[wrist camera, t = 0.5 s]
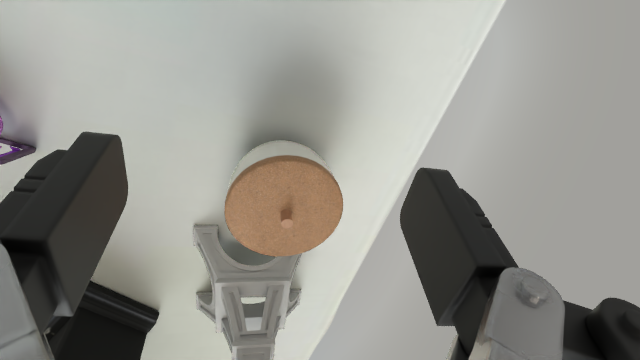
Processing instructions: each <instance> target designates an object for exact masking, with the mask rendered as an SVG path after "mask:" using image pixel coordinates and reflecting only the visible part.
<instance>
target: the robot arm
mask: <svg viewBox="0 0 640 360" xmlns="http://www.w3.org/2000/svg"><path fill="white" fill-rule="evenodd" d="M127 196H128V181H127V175H126V168H125V161H124V155H123V148H122V142H121V139H120V137H119V136H118V135H112V134H102V133H93V132H83V133H81V134H80V136H79V137H78V138H77V139H76V141H75V142H74V143H73V144H72V146H71V147H70V148H69V149H68V150H56V151H54V152H52V153H51V154H49V155H47V156H45V157H44V158H42V159H40V160H38V161H37V162H36V163H35V164H34V165H33V167H32V168H31V169H30V170H29V171H28V172H27V173H26V175H25V178H24V179H21V180H20V181H19V183H18V184H17V185H16V186H15V187H14V191H11V192H10V193H9V194H8V195H7V196H6V197H5V199H4V200H3V201H2V202H1V203H0V360H55V359H54V357H53V354H52V352H51V349H50V346H49V344H48V341H47V339H46V336H45V334H44V331H45V329H46V327H47V325H48V323H49V321H50V320H51V318H52V316H73V315H74V313H75V311H76V309H77V307H78V305H79V303H80V301H81V298H82V296H83V294H84V292H85V290H86V288H87V286H88V284H89V282H90V279H91V277H92V275H93V273H94V271H95V269H96V267H97V265H98V263H99V260H100V258H101V256H102V254H103V252H104V250H105V248H106V246H107V244H108V241H109V239H110V237H111V235H112V233H113V231H114V229H115V227H116V225H117V222H118V220H119V218H120V216H121V214H122V212H123V210H124V207H125V205H126V201H127ZM400 224H401V229H402V231H403V234H404V237H405V240H406V242H407V245H408V248H409V251H410V253H411V256H412V259H413V261H414V264H415V267H416V269H417V272H418V275H419V278H420V280H421V283H422V286H423V289H424V291H425V294H426V297H427V299H428V302H429V305H430V308H431V310H432V313H433V316H434V319H435V321H436V324H437V326H455V328H456V331H457V333H458V334H457V335H456V336H455V338H454V339H453V342H452V344H451V347H450V350H449V353H448V356H447V358H446V360H640V308H639V307H637V306H636V305H634V304H632V303H629V302H627V301H625V300H621V299H617V298H607V299H605V300H603V301H602V302H601V303H600V304H599V305H598V306H597V307H596V308H595V309H593V310H591V309H588V308H585V307H582V306H579V305H576V304H573V303H569V302H566V301H563V300H562V298H561V296H560V294H559V293H558V292H557V290H556V289H555V288H554V287H553V286H552V285H551V284H550V283H549V282H547V281H546V280H545V279H544V278H542V277H541V276H539V275H537V274H536V273H534V272H532V271H529V270H526V269H523V268H519V267H518V265H517V264H516V262H515V261H514V259H513V258H512V256H511V255H510V253H509V251H508V250H507V248H506V247H505V245H504V244H503V242H502V240H501V239H500V237H499V236H498V234H497V233H496V231H495V230H494V228H492V225H491V223H490V222H489V220H488V218H487V217H485V214H484V212H483V211H482V209H481V208H480V206H479V204H478V203H477V201H476V200H474V199H473V198H472V197H471V196H470V195H469V194H468V193H466V191H464V190H463V189H460V188H459V187H458V185H457V184H456V182H455V180H454V179H453V177H452V176H451V174H450V173H449V171H447V170H441V169H431V168H420V169H419V170H418V171H417V173H416V175H415V177H414V180H413V182H412V184H411V187H410V189H409V192H408V194H407V196H406V199H405V201H404V203H403V206H402V209H401V214H400Z"/></svg>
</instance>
